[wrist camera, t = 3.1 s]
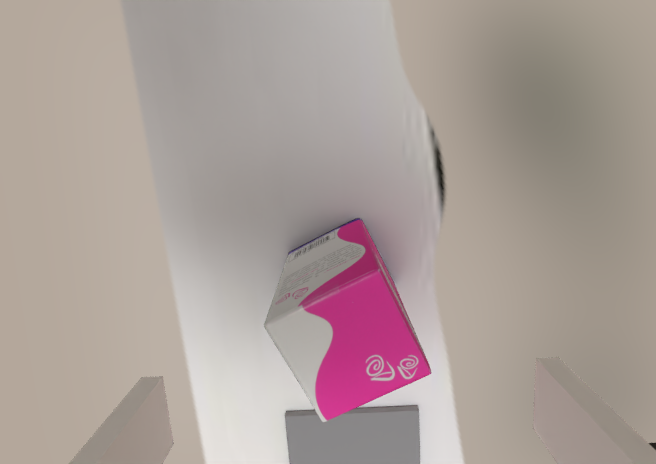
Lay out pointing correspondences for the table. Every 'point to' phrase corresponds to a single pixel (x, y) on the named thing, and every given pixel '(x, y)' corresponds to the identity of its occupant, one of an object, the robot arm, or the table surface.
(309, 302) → the supplement box
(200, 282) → the table surface
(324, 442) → the slate coaster
